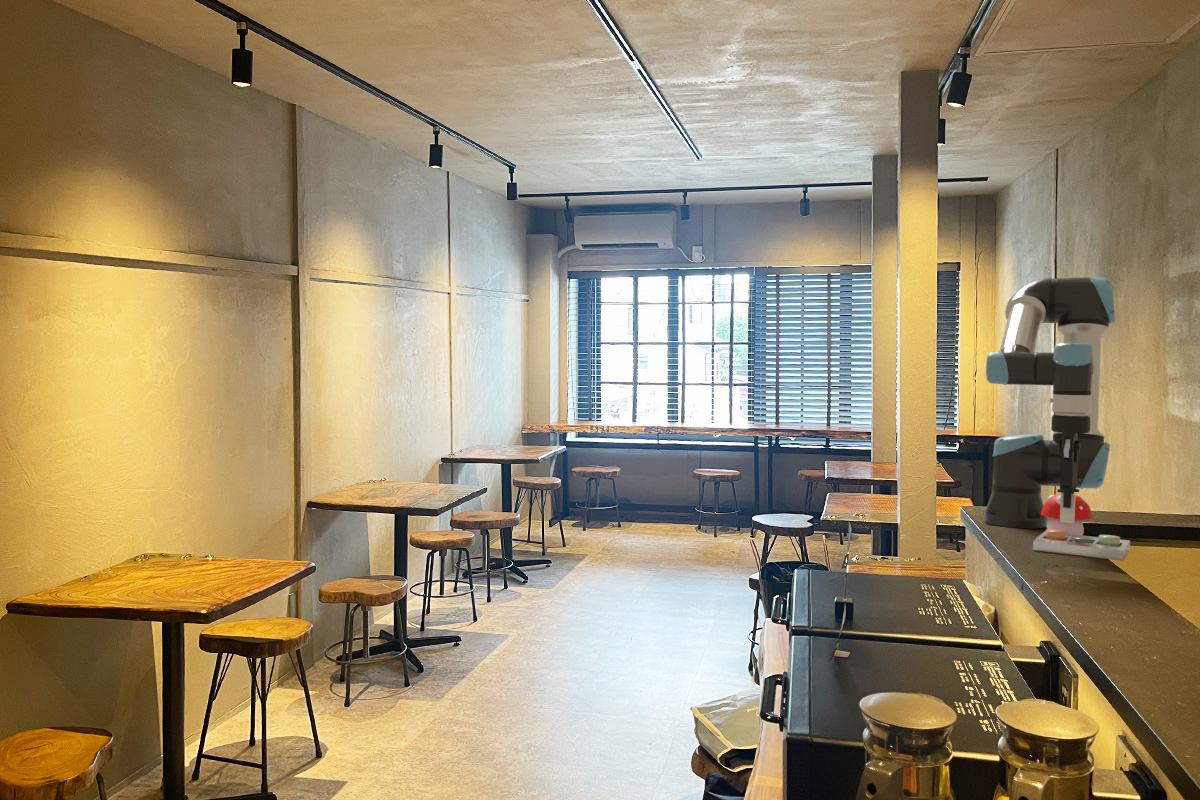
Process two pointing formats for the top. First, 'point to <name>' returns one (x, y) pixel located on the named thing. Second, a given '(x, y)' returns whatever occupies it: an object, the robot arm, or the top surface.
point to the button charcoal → (1082, 539)
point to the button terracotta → (1055, 534)
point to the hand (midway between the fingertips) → (1067, 522)
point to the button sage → (1109, 540)
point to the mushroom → (1053, 512)
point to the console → (1082, 547)
